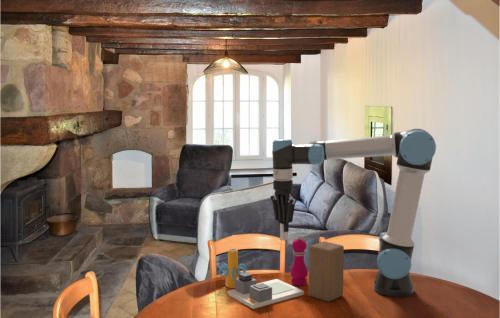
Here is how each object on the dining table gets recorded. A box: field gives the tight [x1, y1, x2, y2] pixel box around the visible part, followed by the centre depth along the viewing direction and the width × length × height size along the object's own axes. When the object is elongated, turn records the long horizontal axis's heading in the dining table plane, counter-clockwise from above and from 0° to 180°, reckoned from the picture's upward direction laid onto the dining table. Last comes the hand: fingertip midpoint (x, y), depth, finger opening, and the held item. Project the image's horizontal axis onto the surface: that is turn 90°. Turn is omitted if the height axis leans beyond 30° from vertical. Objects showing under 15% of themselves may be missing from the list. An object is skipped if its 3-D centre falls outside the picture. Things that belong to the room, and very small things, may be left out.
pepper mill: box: [289, 235, 309, 286], centre depth 210 cm, size 7×7×20 cm
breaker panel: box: [227, 277, 305, 310], centre depth 198 cm, size 17×24×6 cm
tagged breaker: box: [254, 284, 268, 290], centre depth 190 cm, size 4×4×4 cm
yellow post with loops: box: [218, 248, 248, 289], centre depth 207 cm, size 12×10×15 cm
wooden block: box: [308, 241, 345, 303], centre depth 196 cm, size 10×10×20 cm
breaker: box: [239, 271, 253, 282], centre depth 198 cm, size 4×4×4 cm
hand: (284, 239), depth 199 cm, fingers closed
